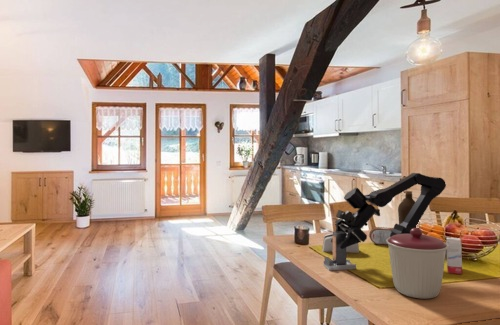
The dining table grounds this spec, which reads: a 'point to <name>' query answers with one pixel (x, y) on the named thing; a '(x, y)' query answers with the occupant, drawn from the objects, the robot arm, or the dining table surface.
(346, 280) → the dining table surface
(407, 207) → the olive oil
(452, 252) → the ink box
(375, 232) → the tin
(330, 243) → the white slotted device
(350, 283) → the dining table surface
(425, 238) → the canister
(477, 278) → the dining table surface
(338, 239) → the block
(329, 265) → the grey rectangular piece
